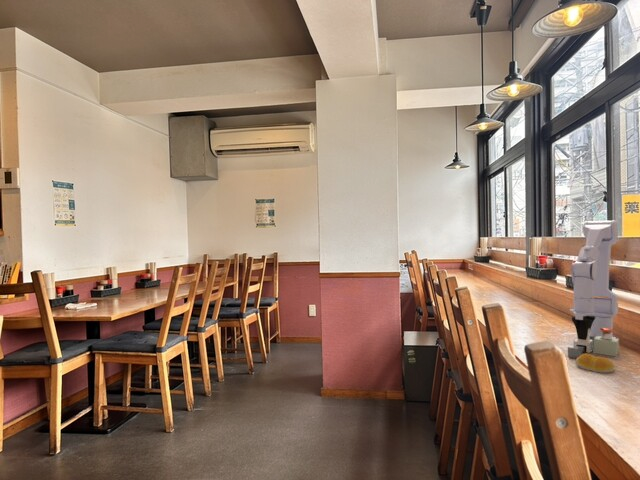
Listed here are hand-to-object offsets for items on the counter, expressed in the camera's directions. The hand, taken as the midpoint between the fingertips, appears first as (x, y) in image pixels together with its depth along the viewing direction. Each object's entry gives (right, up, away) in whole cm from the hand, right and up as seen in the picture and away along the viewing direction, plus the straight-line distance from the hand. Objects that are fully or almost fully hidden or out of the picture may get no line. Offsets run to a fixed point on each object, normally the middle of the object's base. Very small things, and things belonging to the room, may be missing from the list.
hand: (583, 338), depth 135 cm
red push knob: (+6, -1, -3) cm, 6 cm away
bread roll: (-9, -4, -19) cm, 21 cm away
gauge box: (+6, -4, -3) cm, 7 cm away
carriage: (0, -4, 0) cm, 4 cm away
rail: (-1, -4, -1) cm, 4 cm away
